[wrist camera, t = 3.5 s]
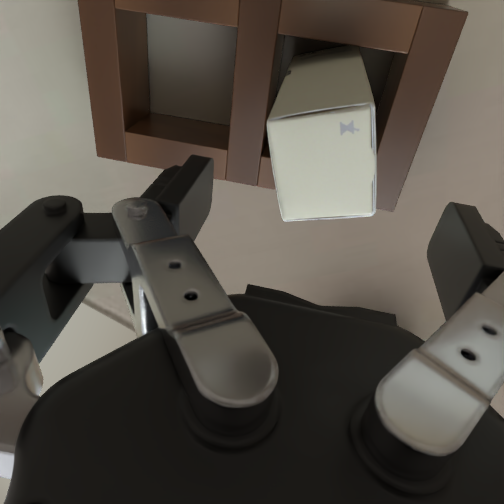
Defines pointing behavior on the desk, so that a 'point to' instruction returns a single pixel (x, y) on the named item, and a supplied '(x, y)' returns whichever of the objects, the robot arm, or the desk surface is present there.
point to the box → (324, 137)
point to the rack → (263, 79)
